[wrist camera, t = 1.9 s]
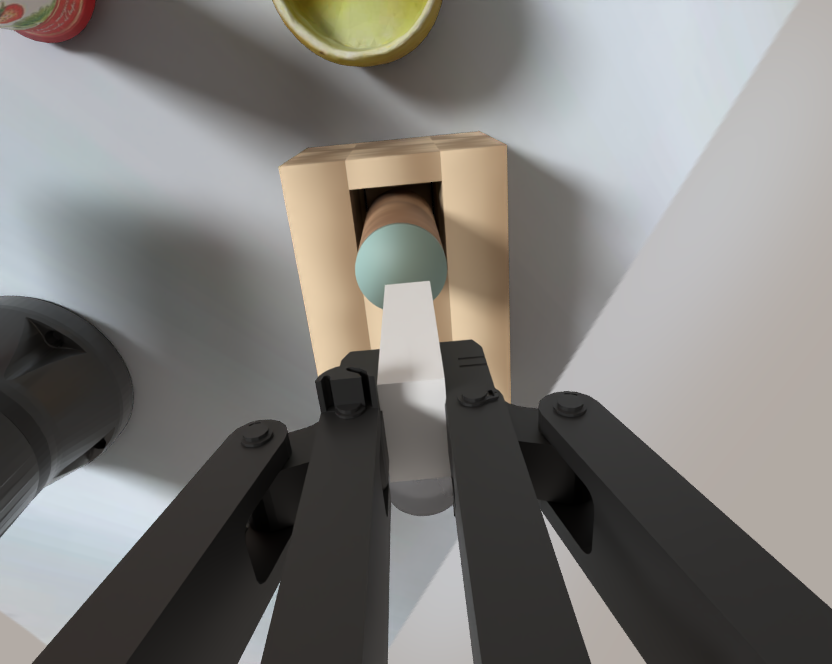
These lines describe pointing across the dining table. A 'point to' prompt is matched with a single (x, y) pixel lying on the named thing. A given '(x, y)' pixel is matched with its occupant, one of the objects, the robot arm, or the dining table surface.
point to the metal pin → (422, 495)
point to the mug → (359, 27)
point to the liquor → (46, 18)
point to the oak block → (456, 223)
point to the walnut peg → (399, 245)
